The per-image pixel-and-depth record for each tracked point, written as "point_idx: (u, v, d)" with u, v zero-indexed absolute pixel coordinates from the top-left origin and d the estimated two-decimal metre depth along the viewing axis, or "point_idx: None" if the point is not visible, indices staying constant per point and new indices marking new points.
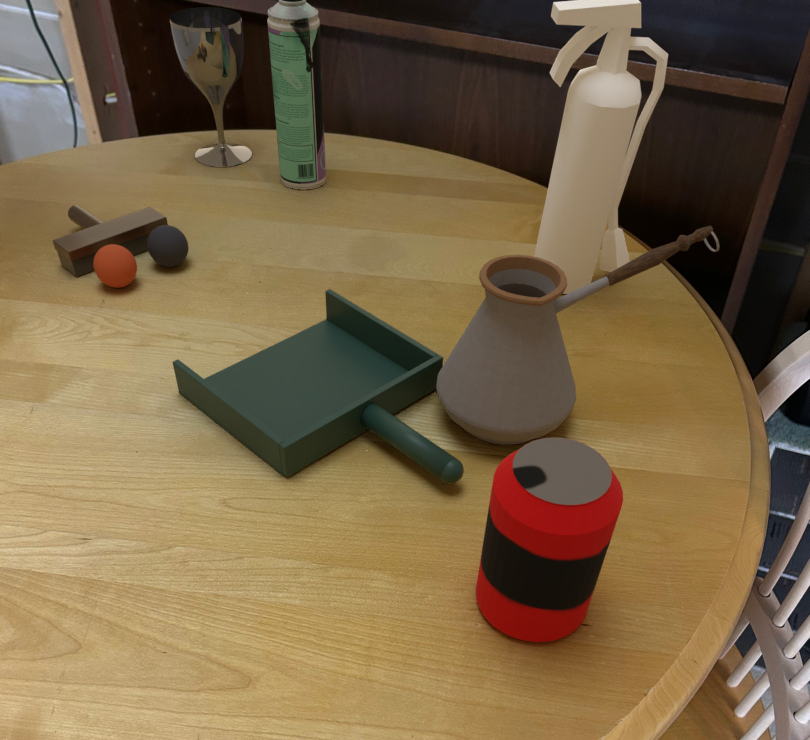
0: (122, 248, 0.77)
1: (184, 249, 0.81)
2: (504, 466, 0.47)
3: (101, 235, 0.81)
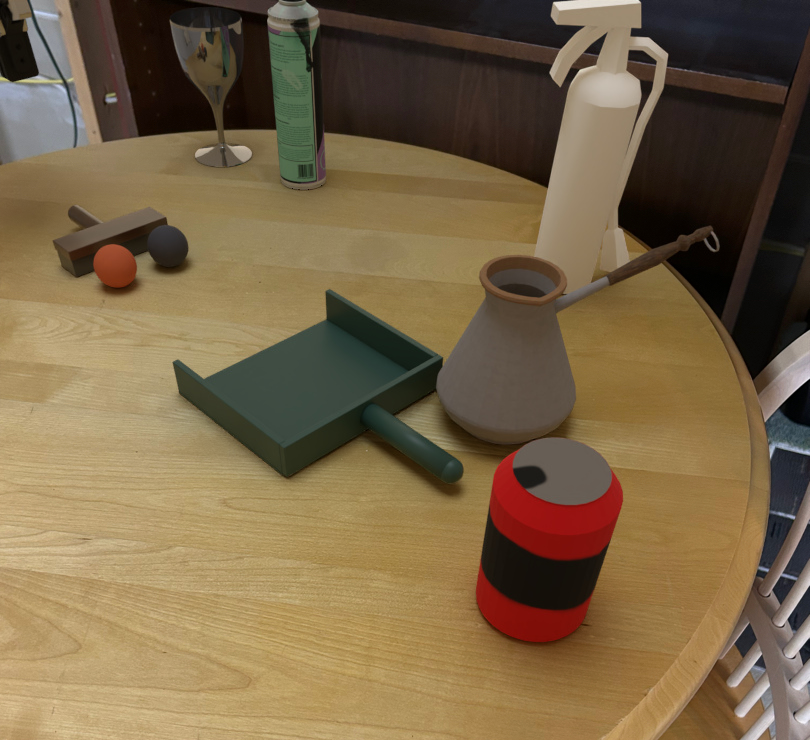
0: (122, 248, 0.77)
1: (184, 249, 0.81)
2: (504, 466, 0.47)
3: (101, 235, 0.81)
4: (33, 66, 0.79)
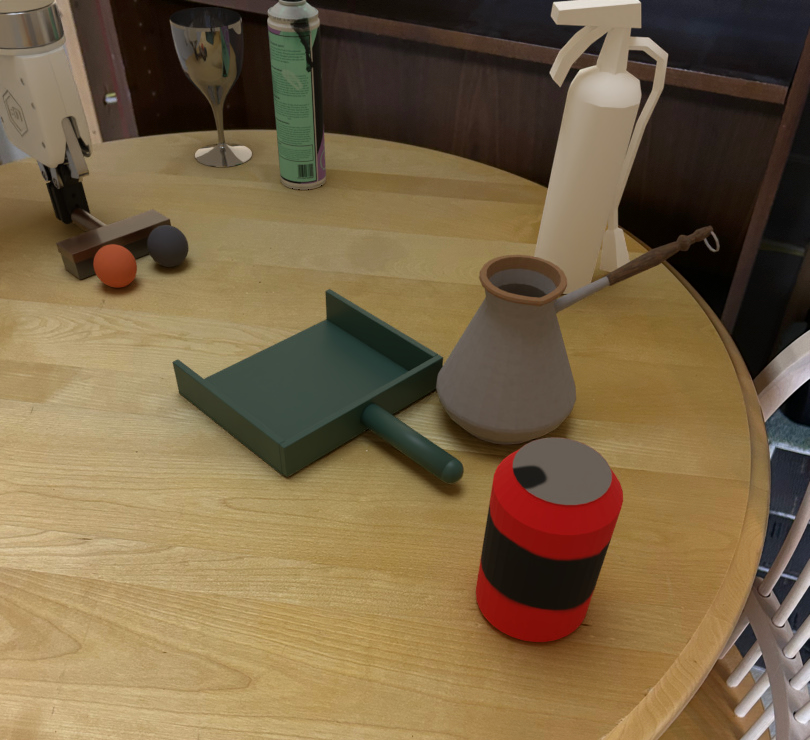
0: (122, 248, 0.77)
1: (184, 249, 0.81)
2: (504, 466, 0.47)
3: (104, 237, 0.80)
4: (85, 209, 0.87)
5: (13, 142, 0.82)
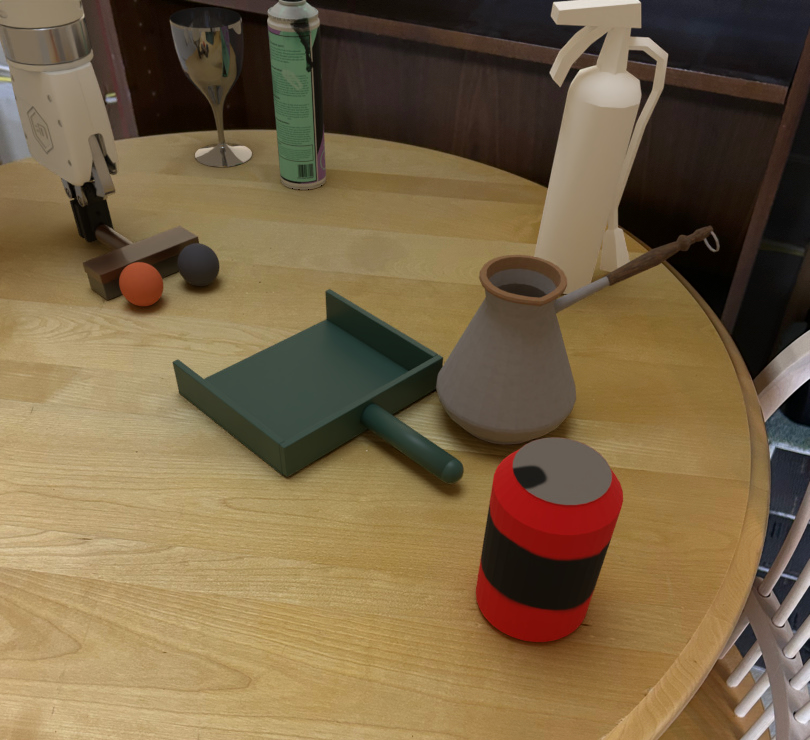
0: (158, 298, 0.77)
1: None
2: (504, 466, 0.47)
3: (132, 256, 0.78)
4: (109, 226, 0.85)
5: (37, 159, 0.79)
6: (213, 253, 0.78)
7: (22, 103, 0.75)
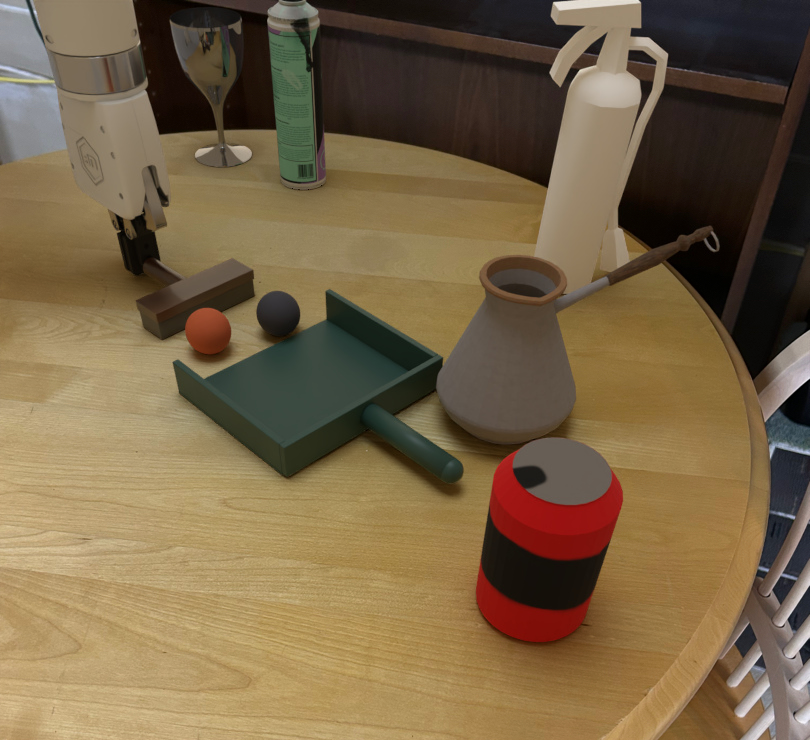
0: (228, 335, 0.71)
1: None
2: (504, 466, 0.47)
3: (187, 293, 0.74)
4: None
5: (84, 190, 0.75)
6: (292, 298, 0.73)
7: (70, 132, 0.71)
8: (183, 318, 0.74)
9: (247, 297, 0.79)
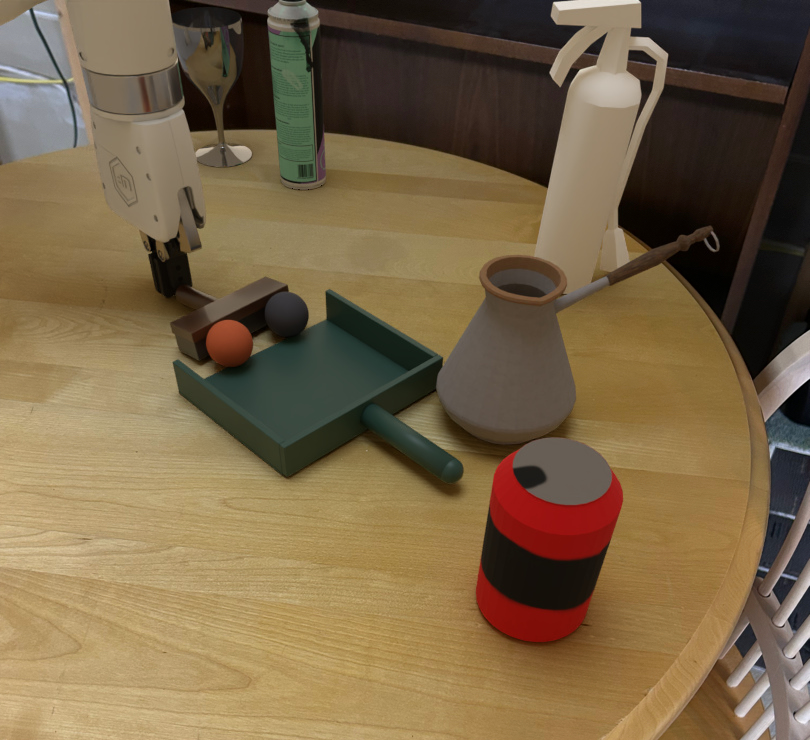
0: None
1: None
2: (504, 466, 0.47)
3: (222, 311, 0.71)
4: (188, 280, 0.78)
5: (115, 210, 0.73)
6: (305, 304, 0.73)
7: (103, 152, 0.69)
8: None
9: None
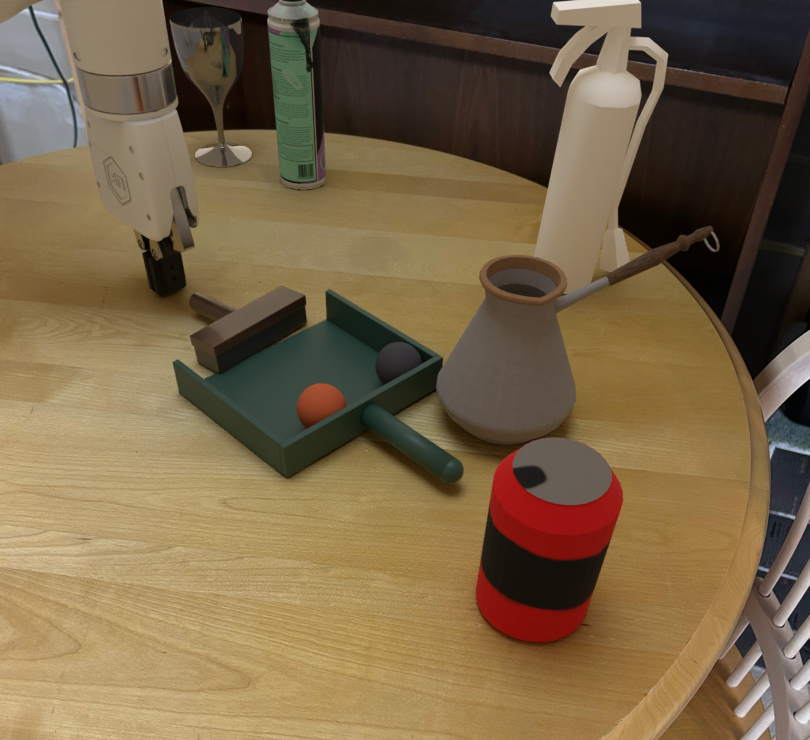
0: None
1: None
2: (504, 466, 0.47)
3: (242, 323, 0.71)
4: (182, 279, 0.79)
5: (109, 209, 0.73)
6: (420, 357, 0.68)
7: (97, 151, 0.69)
8: (240, 350, 0.71)
9: (300, 324, 0.75)
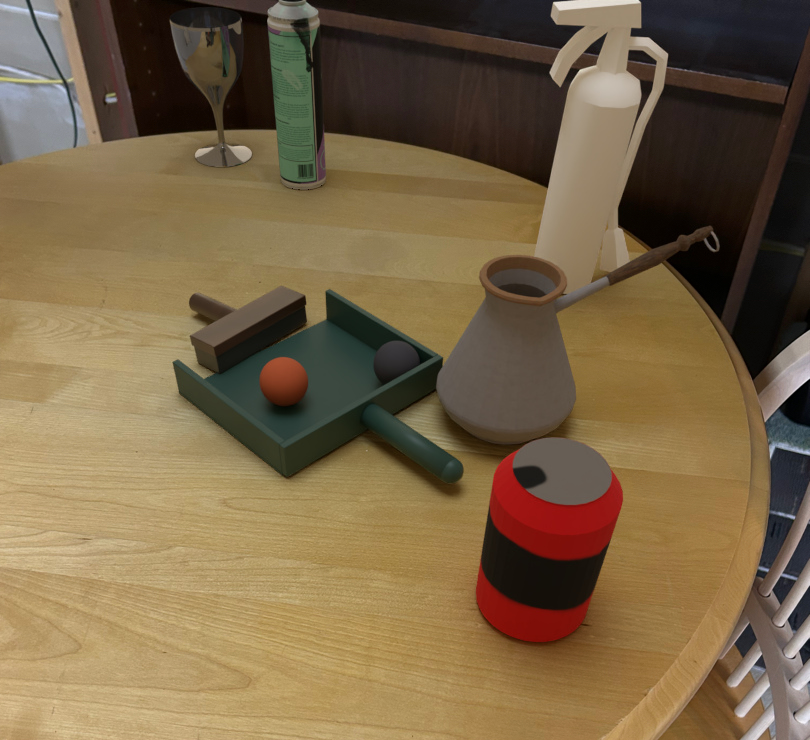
0: (297, 367, 0.65)
1: None
2: (504, 466, 0.47)
3: (242, 323, 0.71)
4: None
5: None
6: (417, 354, 0.68)
7: None
8: (240, 350, 0.71)
9: (300, 324, 0.75)
